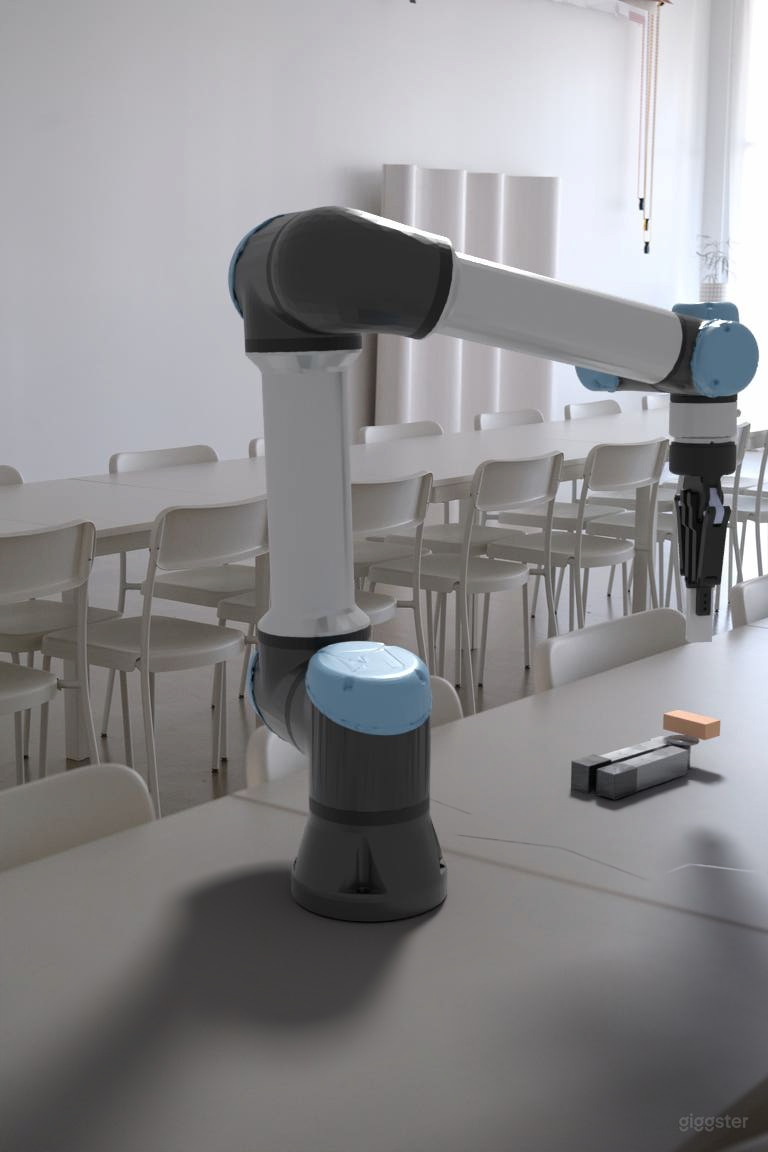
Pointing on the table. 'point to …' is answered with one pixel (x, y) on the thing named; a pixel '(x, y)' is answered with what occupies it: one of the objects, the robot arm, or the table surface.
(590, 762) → the tong fixed
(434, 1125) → the table surface
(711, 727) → the tab
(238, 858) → the table surface
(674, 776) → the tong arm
